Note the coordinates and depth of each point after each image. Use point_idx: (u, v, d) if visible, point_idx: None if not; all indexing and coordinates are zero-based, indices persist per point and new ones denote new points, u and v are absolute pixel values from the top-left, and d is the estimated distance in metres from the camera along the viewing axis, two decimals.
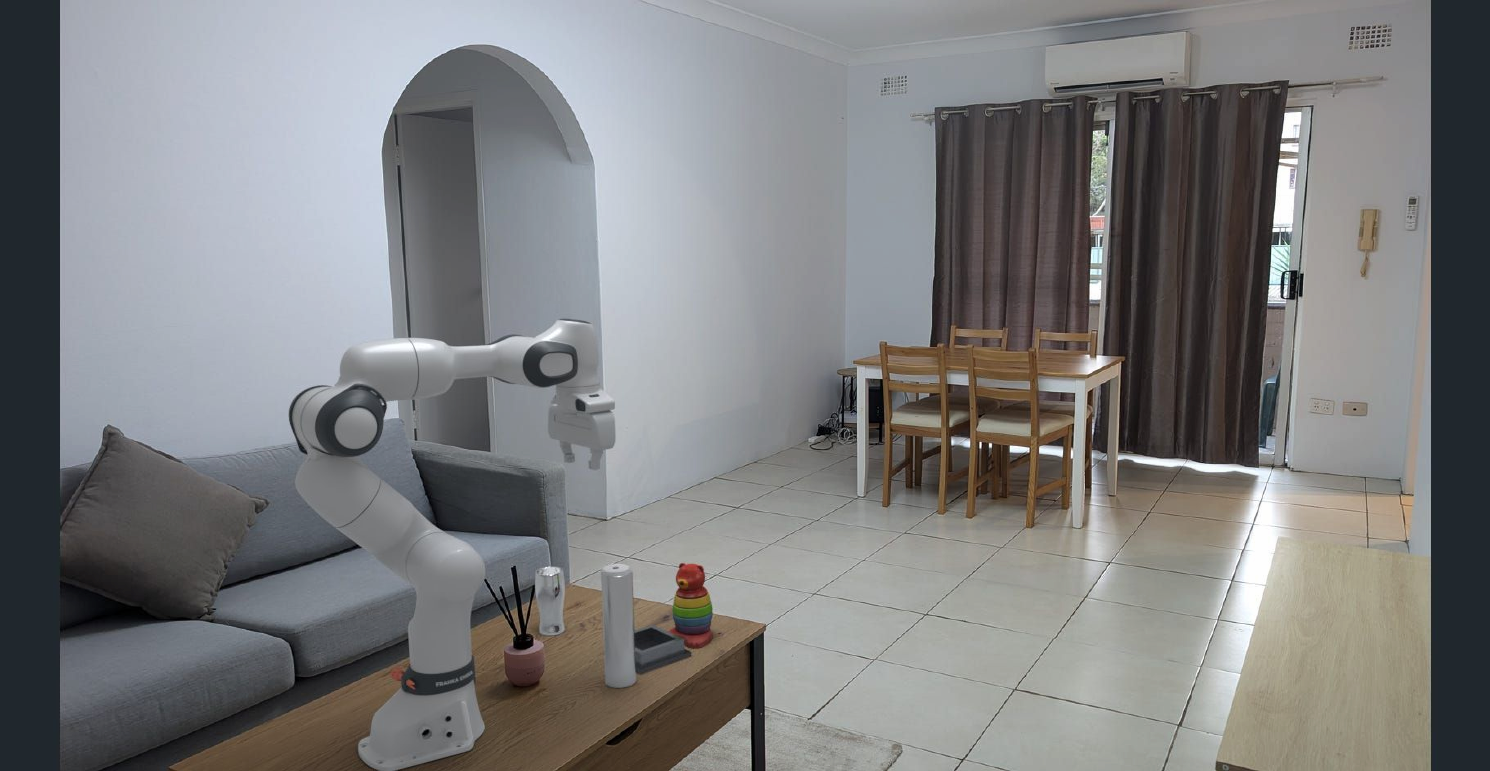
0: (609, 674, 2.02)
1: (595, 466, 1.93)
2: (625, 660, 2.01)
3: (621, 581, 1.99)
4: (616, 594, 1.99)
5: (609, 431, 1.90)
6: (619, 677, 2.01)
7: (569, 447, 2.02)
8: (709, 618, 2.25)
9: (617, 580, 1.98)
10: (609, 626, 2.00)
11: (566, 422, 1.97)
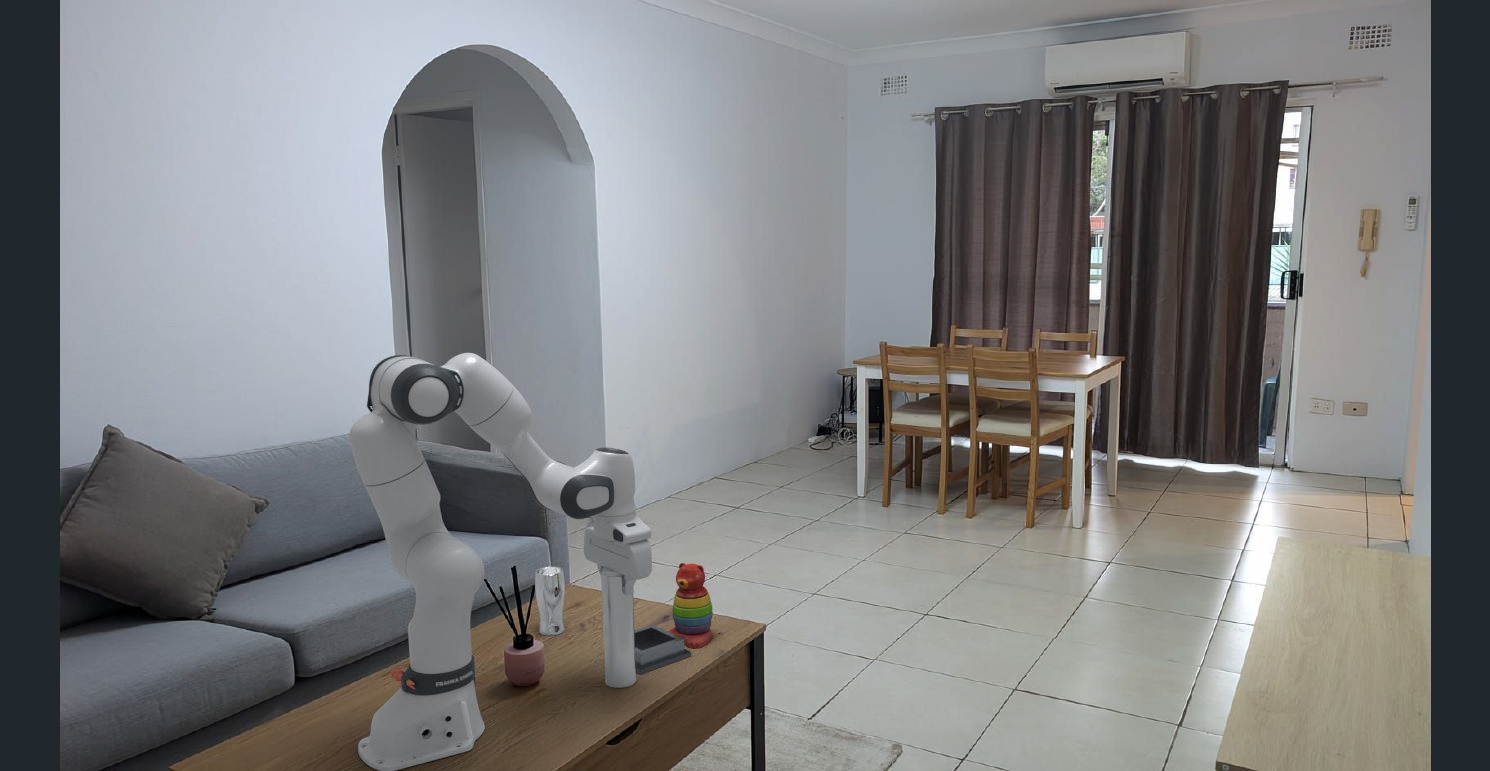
0: (609, 674, 2.02)
1: (629, 591, 1.98)
2: (625, 660, 2.01)
3: (621, 581, 1.99)
4: (616, 594, 1.99)
5: (646, 560, 1.94)
6: (620, 677, 2.01)
7: None
8: (709, 618, 2.25)
9: (617, 580, 1.98)
10: (609, 626, 2.00)
11: (602, 547, 2.02)
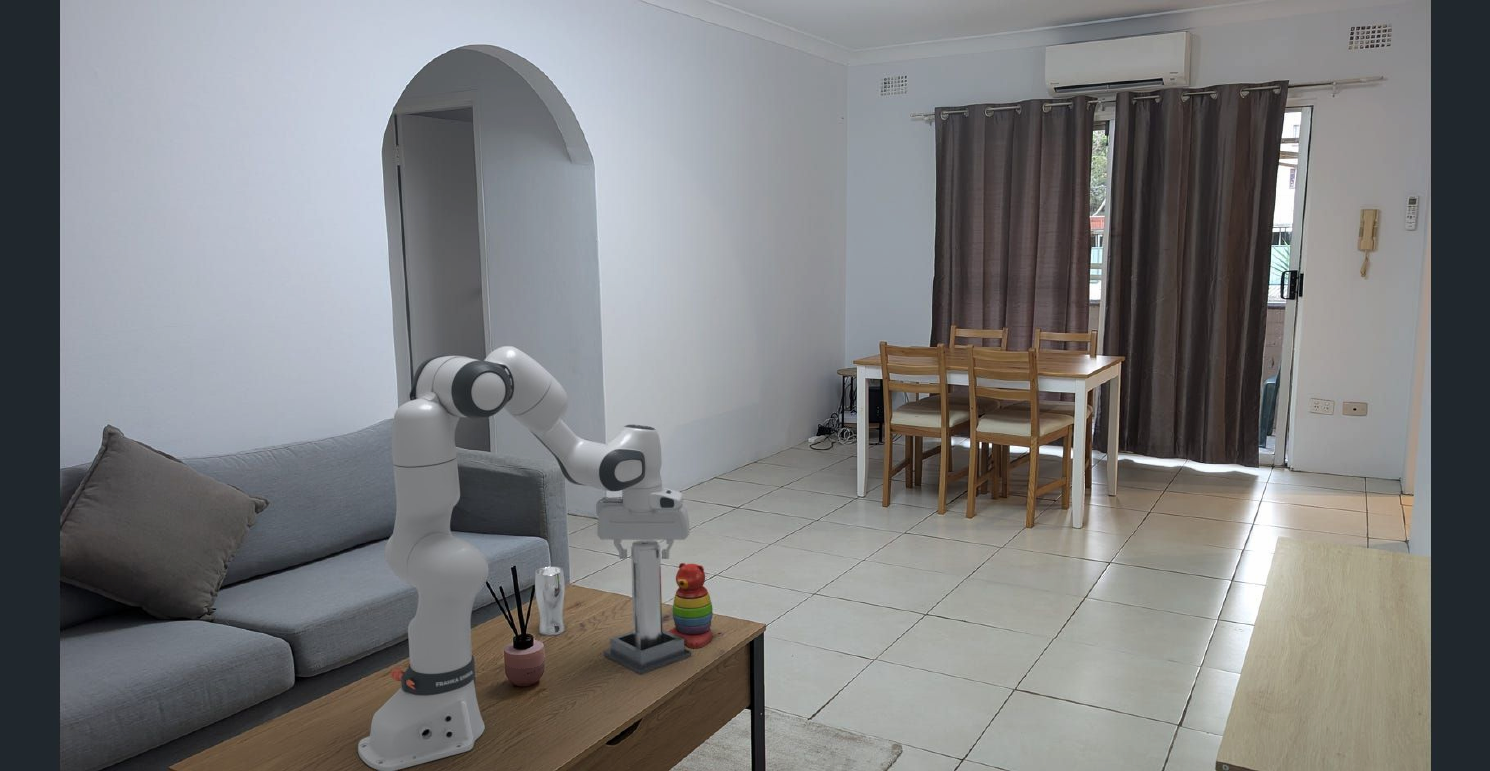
0: (644, 643, 2.15)
1: (668, 555, 2.14)
2: (659, 627, 2.16)
3: (656, 553, 2.14)
4: (653, 566, 2.13)
5: (688, 520, 2.14)
6: (655, 644, 2.15)
7: (620, 544, 2.15)
8: (709, 618, 2.25)
9: (654, 553, 2.13)
10: (646, 598, 2.13)
11: (630, 521, 2.12)
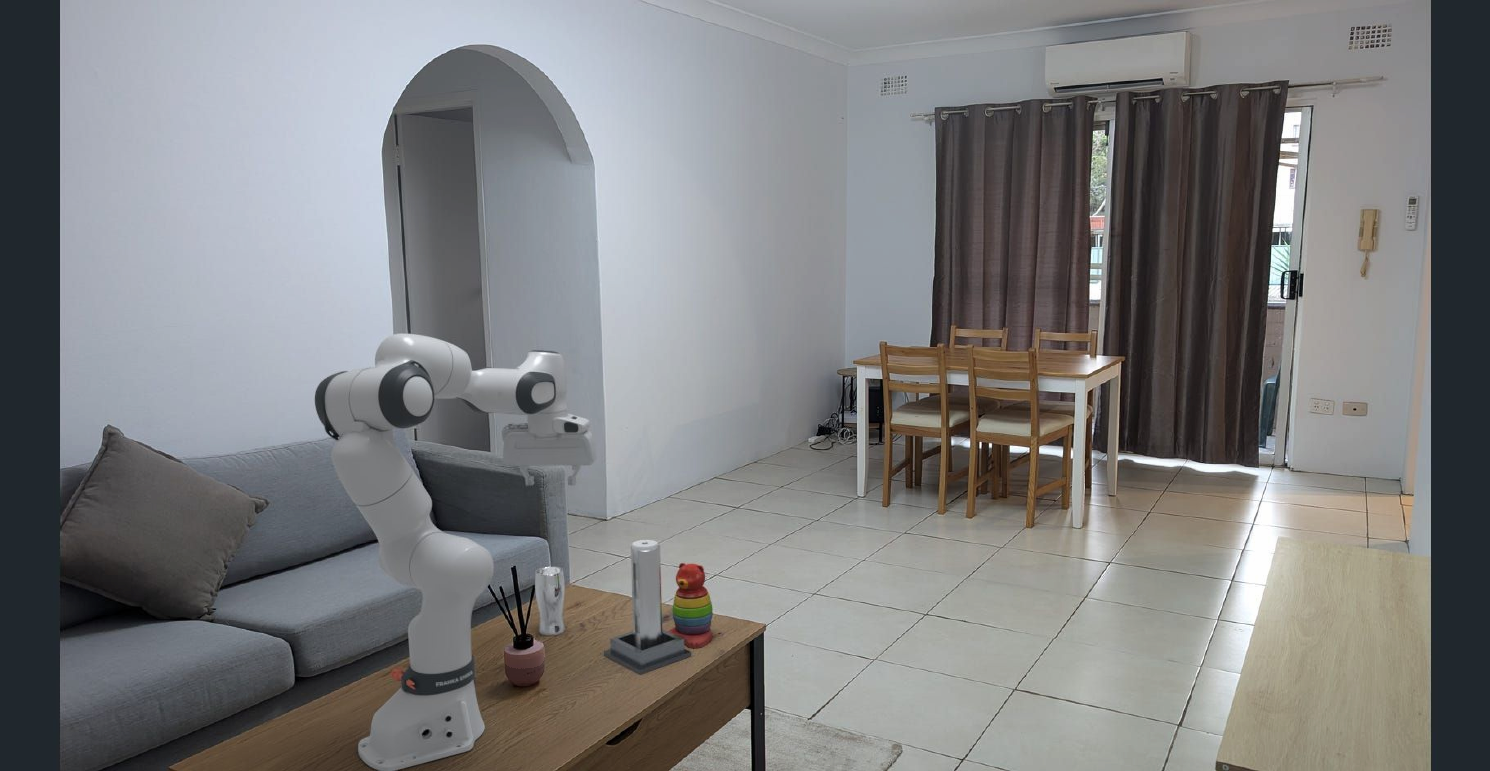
0: (644, 643, 2.15)
1: (574, 481, 2.14)
2: (659, 627, 2.16)
3: (656, 554, 2.13)
4: (653, 566, 2.13)
5: (594, 447, 2.13)
6: (655, 644, 2.15)
7: (526, 471, 2.15)
8: (709, 618, 2.25)
9: (653, 553, 2.13)
10: (646, 598, 2.13)
11: (535, 446, 2.12)
